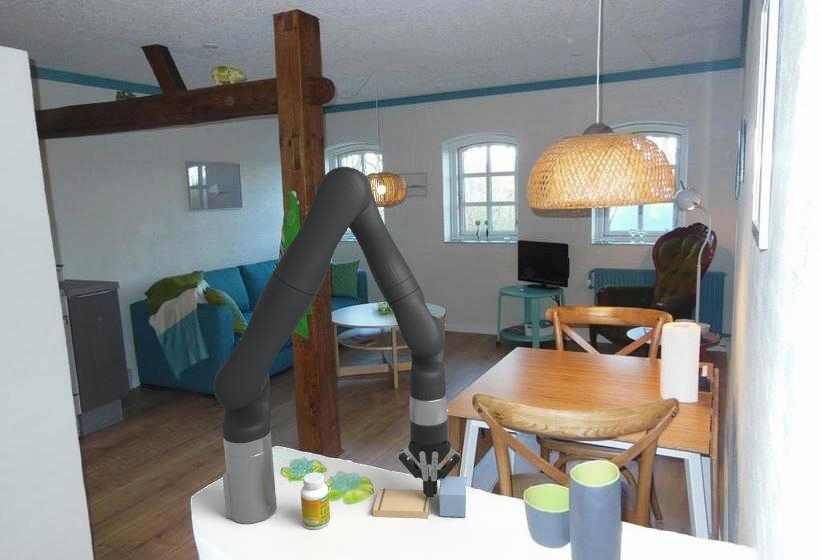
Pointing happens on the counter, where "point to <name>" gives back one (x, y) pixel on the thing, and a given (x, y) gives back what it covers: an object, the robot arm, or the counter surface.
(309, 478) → the supplement bottle
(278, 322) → the robot arm
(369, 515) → the counter surface
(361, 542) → the counter surface
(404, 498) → the board
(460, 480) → the stub
